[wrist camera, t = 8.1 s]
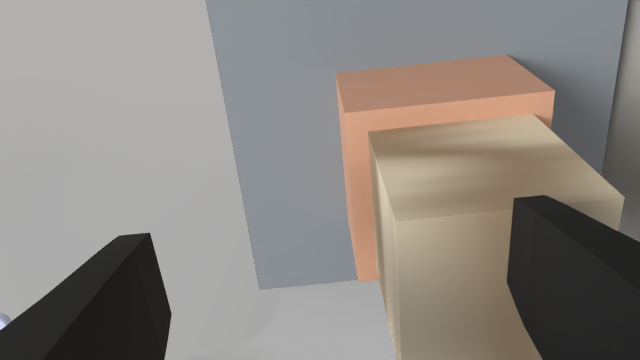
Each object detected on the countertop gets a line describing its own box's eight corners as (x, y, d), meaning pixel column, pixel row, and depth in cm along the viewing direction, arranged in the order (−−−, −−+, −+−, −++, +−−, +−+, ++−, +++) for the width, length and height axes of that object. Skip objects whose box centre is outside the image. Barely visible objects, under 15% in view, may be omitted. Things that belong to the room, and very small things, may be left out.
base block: (348, 219, 22) (358, 281, 18) (335, 73, 19) (344, 113, 16) (498, 203, 22) (537, 263, 18) (506, 54, 19) (554, 90, 16)
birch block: (376, 266, 18) (402, 385, 14) (367, 131, 16) (395, 222, 12) (521, 250, 18) (595, 365, 14) (532, 113, 16) (624, 197, 12)
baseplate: (260, 281, 24) (259, 289, 23) (207, -7, 18) (204, -4, 18) (582, 247, 24) (589, 255, 23) (625, -53, 18) (635, -51, 18)
